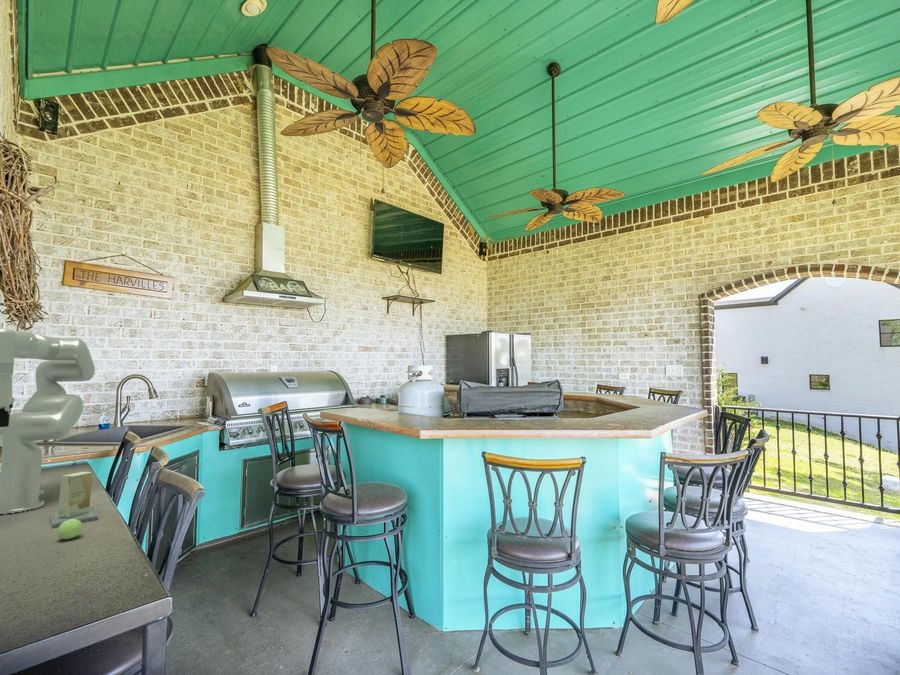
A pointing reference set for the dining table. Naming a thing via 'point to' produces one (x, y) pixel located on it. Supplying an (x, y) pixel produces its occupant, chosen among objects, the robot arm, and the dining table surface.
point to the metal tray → (83, 517)
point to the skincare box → (75, 494)
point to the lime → (69, 529)
